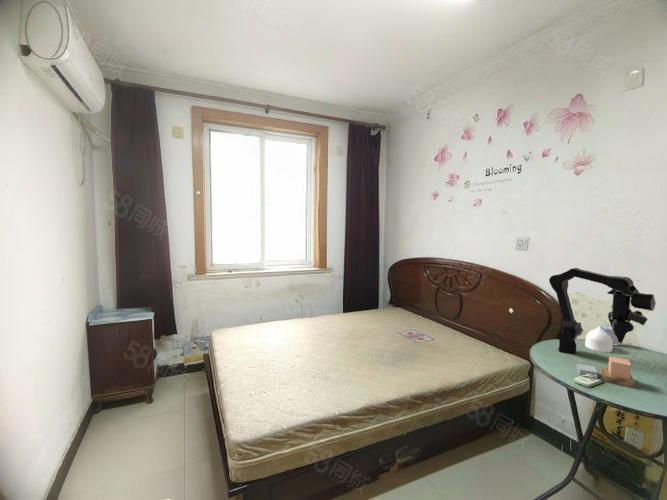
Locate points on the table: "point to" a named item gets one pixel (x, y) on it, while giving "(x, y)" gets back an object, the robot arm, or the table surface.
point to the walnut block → (617, 379)
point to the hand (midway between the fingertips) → (618, 338)
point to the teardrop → (599, 340)
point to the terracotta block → (619, 367)
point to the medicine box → (611, 335)
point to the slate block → (586, 370)
